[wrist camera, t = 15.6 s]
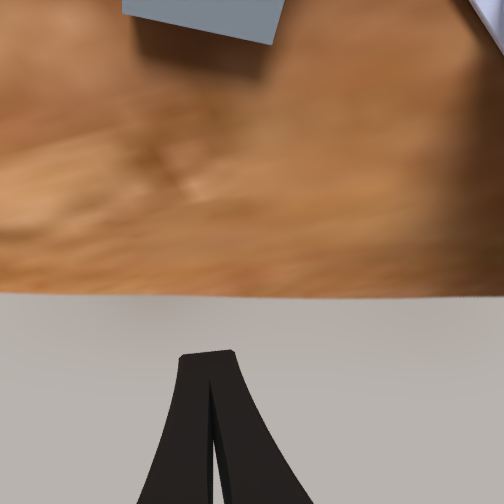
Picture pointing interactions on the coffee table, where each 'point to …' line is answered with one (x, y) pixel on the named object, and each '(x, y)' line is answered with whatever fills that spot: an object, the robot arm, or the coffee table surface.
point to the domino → (214, 16)
